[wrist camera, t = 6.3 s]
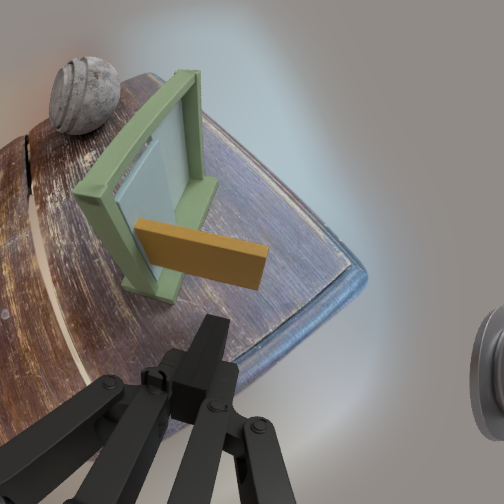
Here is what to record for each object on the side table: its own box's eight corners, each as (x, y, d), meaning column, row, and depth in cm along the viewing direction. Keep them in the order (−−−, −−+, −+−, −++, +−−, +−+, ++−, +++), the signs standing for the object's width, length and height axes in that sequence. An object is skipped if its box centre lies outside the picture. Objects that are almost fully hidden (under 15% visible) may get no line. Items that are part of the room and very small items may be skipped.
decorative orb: (54, 130, 42) (32, 72, 29) (112, 98, 48) (100, 40, 35) (68, 162, 38) (38, 90, 25) (138, 122, 43) (125, 49, 30)
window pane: (266, 248, 30) (287, 160, 19) (253, 306, 27) (272, 234, 16) (173, 228, 30) (152, 138, 20) (152, 280, 27) (110, 201, 16)
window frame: (218, 185, 36) (218, 71, 22) (174, 305, 28) (125, 202, 14) (177, 178, 37) (161, 69, 22) (125, 290, 28) (52, 189, 14)
